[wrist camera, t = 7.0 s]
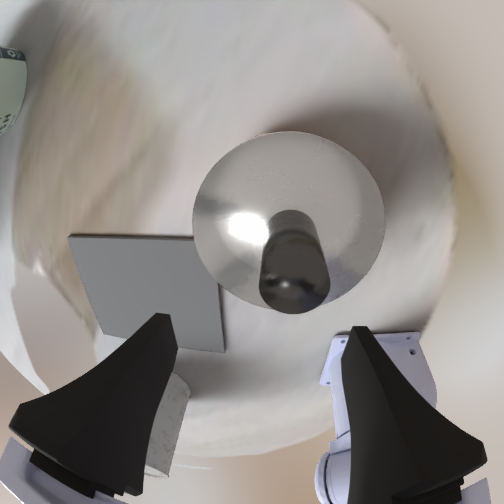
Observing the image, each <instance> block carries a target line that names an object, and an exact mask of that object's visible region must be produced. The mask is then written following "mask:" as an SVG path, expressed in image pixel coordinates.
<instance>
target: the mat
mask: <svg viewBox="0 0 504 504" xmlns="http://www.w3.org/2000/svg"><path fill="white" fill-rule="evenodd" d="M67 239H68V242H69V245H70V249H71V252H72V255H73V258H74V261H75V264H76V267H77V270H78V273H79V276H80V279H81V281H82V284H83V287H84V289H85V292H86V294H87V297H88V299H89V302H90V304H91V307H92V309H93V312H94V314H95V316H96V318H97V321H98V323H99V325H100V327H101V329H102V332H103V334H106V335H111V336H116V337H120V338H125V339H129V338H130V337H131V336H132V335H133V334H134V333H135V332H136V331H137V330H138V329H139V328H140V327H141V326H142V325H143V324H144V323H146V322H147V321H148V320H149V319H150V318H151V317H152V316H153V315H154V314H155V313H156V312H157V313H164V314H170V317H171V321H172V325H173V329H174V333H175V337H176V341H177V345H178V348H185V349H193V350H201V351H210V352H220V353H225V345H224V335H223V326H222V316H221V305H220V295H219V283H218V282H217V281H216V280H215V279H214V278H213V276H212V275H211V274H210V273H209V271H208V270H207V268H206V267H205V265H204V264H203V262H202V260H201V258H200V256H199V254H198V251H197V248H196V245H195V241H194V239H193V238H160V237H120V236H68V237H67Z"/></svg>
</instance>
